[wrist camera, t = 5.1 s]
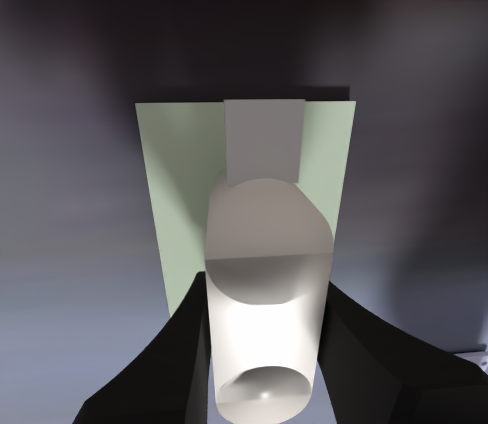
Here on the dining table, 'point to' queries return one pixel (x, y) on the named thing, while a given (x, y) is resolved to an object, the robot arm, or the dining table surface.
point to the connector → (264, 266)
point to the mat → (212, 162)
